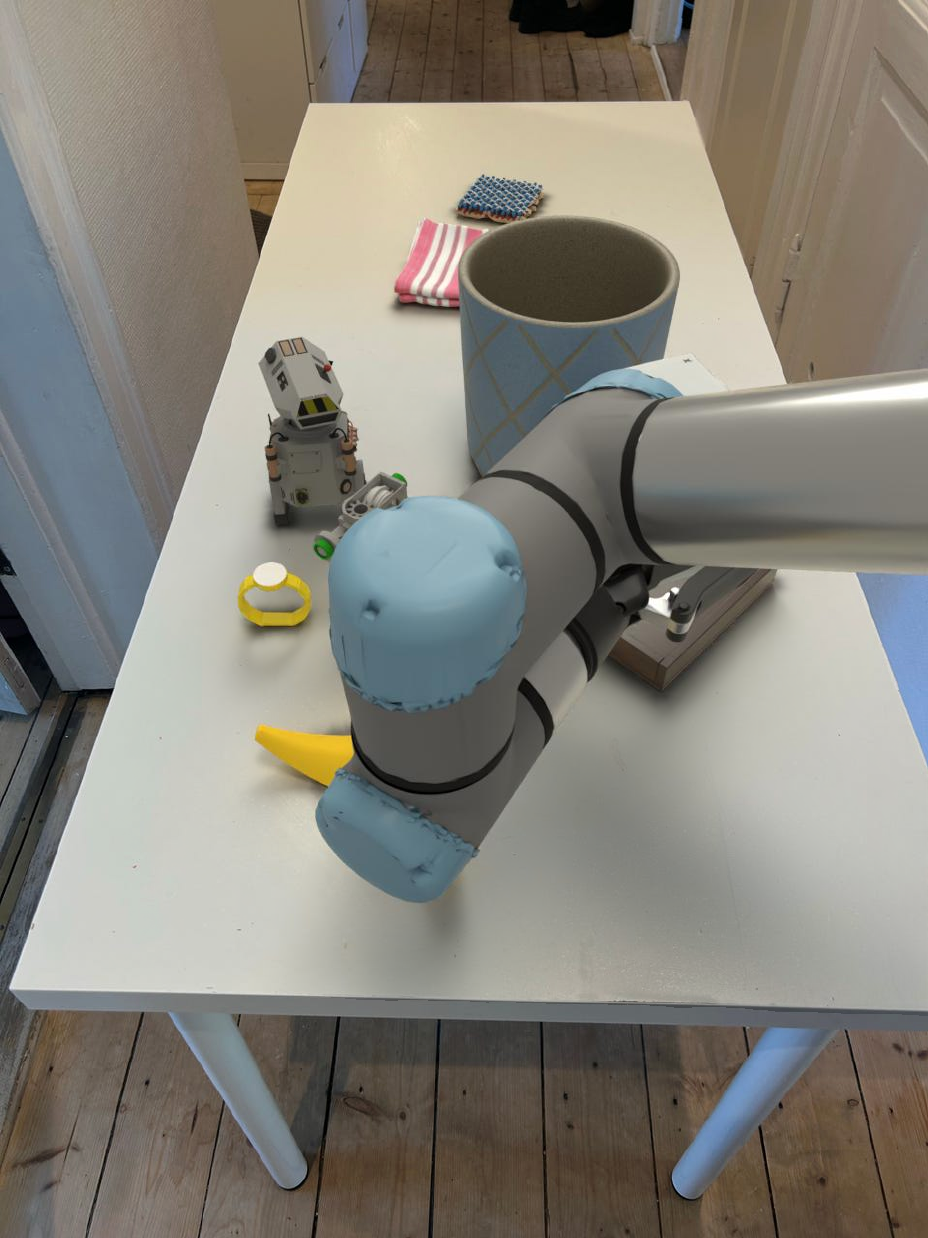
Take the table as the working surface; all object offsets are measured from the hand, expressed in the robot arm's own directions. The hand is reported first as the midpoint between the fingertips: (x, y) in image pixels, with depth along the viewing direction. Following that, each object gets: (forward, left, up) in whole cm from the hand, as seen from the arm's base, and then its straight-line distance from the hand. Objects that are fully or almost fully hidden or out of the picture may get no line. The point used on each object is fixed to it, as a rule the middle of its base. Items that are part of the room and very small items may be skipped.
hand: (691, 433), depth 62 cm
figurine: (+33, +9, -20) cm, 40 cm away
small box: (-1, +4, -7) cm, 9 cm away
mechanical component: (+20, +14, -20) cm, 32 cm away
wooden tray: (+3, -3, -20) cm, 20 cm away
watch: (+23, +22, -20) cm, 38 cm away
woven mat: (+62, -48, -20) cm, 81 cm away
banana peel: (+7, +26, -20) cm, 34 cm away
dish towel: (+49, -33, -20) cm, 62 cm away
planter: (+21, -12, -20) cm, 31 cm away
